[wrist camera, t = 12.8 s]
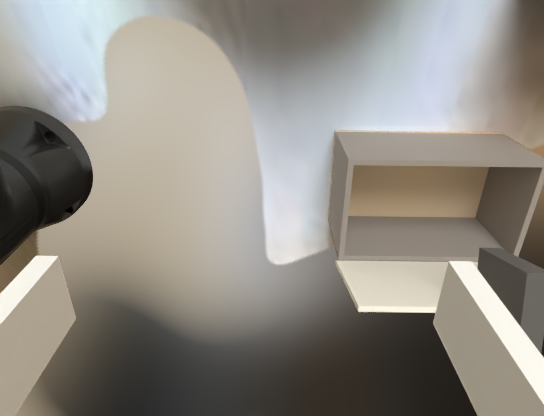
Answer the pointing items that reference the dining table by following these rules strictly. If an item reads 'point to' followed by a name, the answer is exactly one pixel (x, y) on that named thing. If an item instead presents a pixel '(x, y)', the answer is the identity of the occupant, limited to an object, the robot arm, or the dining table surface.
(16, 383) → the robot arm
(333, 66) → the dining table surface
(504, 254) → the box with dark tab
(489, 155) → the open cabinet
